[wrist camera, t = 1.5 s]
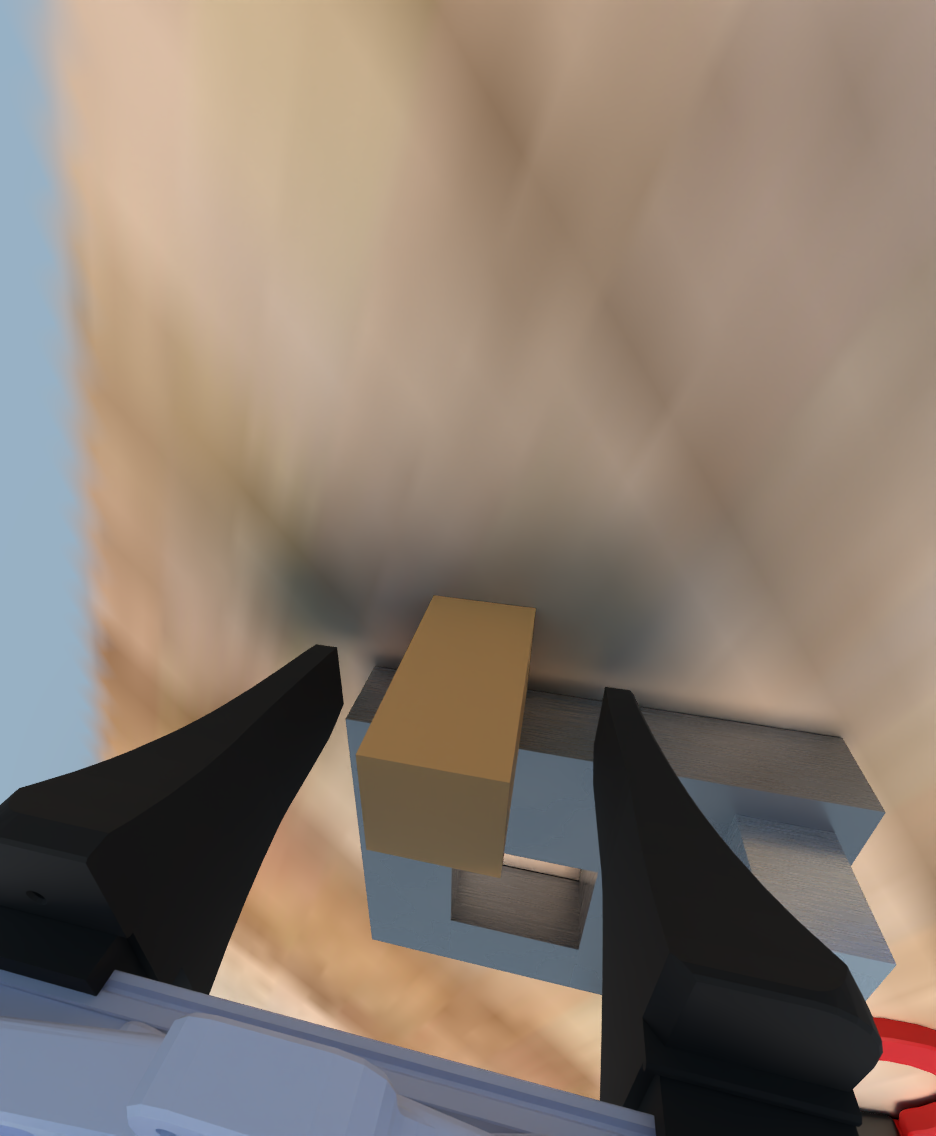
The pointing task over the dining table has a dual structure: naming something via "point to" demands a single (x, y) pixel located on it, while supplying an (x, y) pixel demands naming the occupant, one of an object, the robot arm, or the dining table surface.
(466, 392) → the dining table surface
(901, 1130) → the tow hook
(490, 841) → the tan rectangular block
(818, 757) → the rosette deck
